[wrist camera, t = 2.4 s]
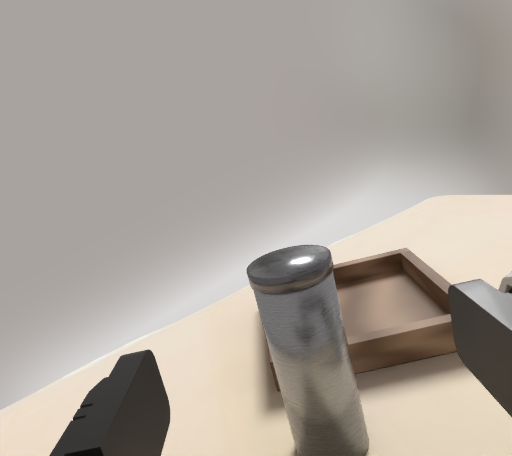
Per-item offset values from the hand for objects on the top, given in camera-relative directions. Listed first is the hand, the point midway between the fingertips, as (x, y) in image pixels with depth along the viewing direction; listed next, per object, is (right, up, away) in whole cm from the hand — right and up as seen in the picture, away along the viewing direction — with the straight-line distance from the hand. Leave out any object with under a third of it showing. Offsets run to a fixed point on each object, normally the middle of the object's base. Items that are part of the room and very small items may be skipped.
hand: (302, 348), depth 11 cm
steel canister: (+3, -10, +14) cm, 18 cm away
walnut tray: (+8, -5, +28) cm, 29 cm away
